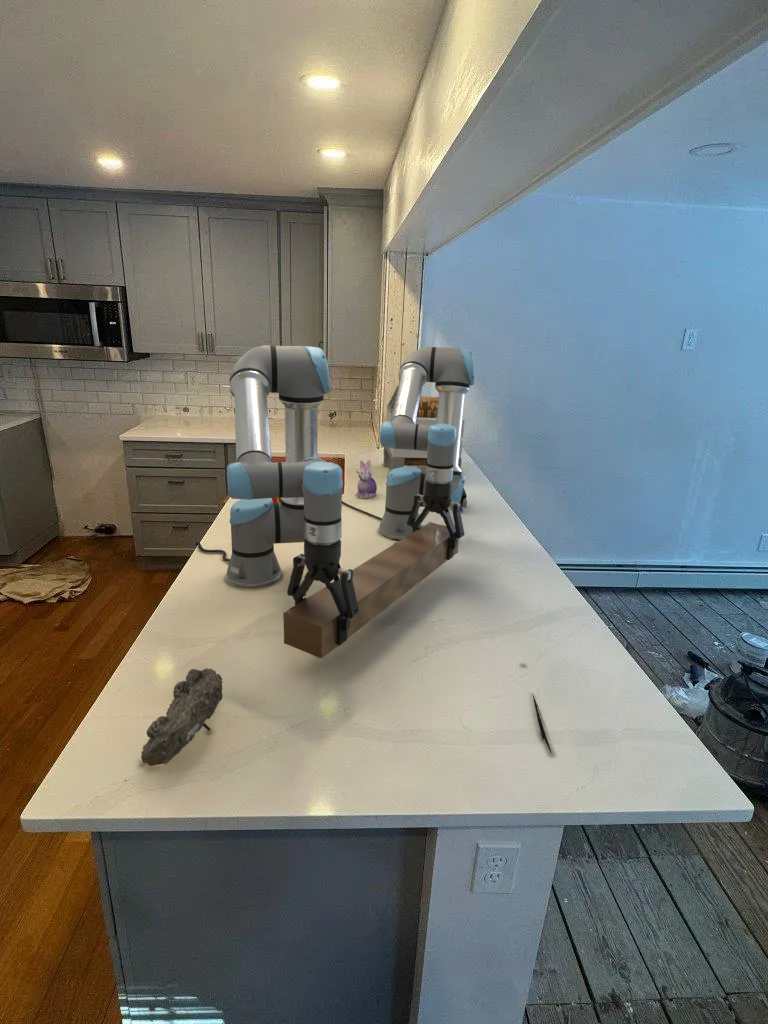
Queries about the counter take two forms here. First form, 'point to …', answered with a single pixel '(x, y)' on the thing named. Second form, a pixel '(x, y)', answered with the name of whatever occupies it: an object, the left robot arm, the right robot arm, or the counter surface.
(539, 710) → the feather
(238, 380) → the left robot arm
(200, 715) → the fossil
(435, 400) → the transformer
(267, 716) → the counter surface
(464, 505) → the figurine character
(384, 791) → the counter surface
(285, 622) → the thick board
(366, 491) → the figurine
